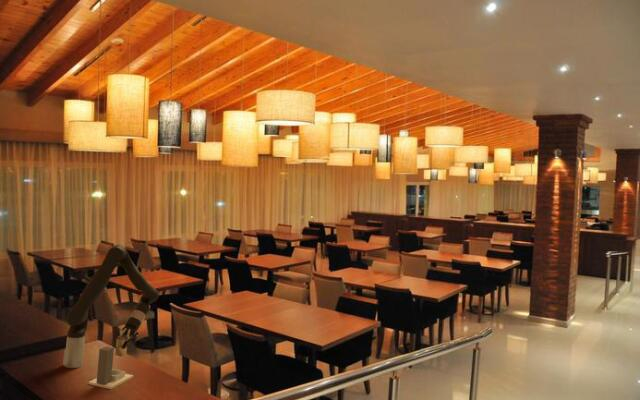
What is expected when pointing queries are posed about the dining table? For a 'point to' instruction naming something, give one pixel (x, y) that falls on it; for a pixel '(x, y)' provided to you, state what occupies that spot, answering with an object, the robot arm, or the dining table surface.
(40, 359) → the dining table surface
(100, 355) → the grey pillar stand
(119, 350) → the rail end
